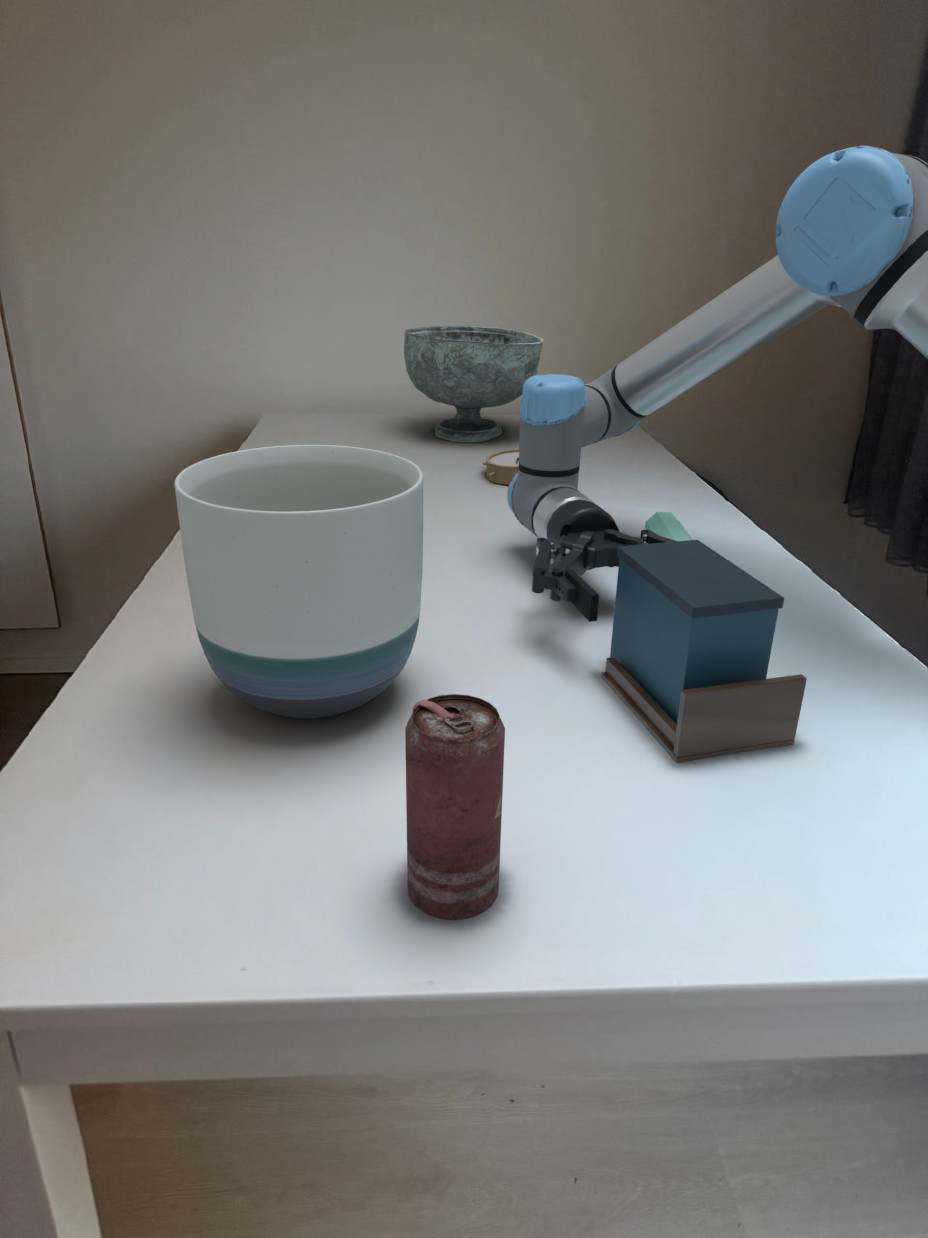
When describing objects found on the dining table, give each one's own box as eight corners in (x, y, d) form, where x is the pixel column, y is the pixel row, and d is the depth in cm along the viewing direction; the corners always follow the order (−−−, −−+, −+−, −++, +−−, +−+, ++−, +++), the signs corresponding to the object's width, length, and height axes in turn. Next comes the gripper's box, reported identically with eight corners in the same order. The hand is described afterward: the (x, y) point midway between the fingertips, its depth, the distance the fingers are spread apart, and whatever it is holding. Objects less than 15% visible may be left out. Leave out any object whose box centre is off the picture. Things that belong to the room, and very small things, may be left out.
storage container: (606, 659, 90) (617, 546, 85) (682, 650, 92) (697, 539, 87) (676, 735, 77) (693, 607, 72) (762, 722, 80) (784, 597, 74)
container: (650, 497, 123) (695, 561, 100) (688, 513, 124) (741, 580, 101) (630, 535, 125) (669, 606, 102) (668, 551, 126) (714, 625, 103)
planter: (177, 675, 88) (149, 459, 79) (370, 633, 97) (364, 435, 88) (239, 784, 72) (213, 528, 63) (462, 721, 81) (467, 490, 72)
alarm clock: (479, 452, 156) (564, 435, 156) (484, 479, 158) (568, 463, 158) (488, 469, 146) (579, 452, 146) (493, 498, 148) (582, 481, 148)
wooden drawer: (600, 681, 88) (606, 616, 85) (702, 667, 91) (712, 604, 88) (675, 768, 75) (685, 694, 72) (793, 749, 78) (807, 678, 75)
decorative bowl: (374, 428, 181) (376, 324, 172) (467, 413, 197) (473, 318, 189) (463, 460, 164) (470, 346, 155) (557, 441, 180) (568, 337, 172)
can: (430, 852, 65) (430, 680, 59) (512, 880, 62) (520, 703, 56) (387, 905, 60) (382, 724, 54) (474, 938, 57) (479, 751, 51)
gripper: (669, 551, 110) (767, 623, 91) (472, 569, 104) (535, 650, 85) (676, 491, 107) (780, 554, 88) (473, 506, 100) (539, 576, 82)
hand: (660, 601), depth 87 cm, fingers open, 13 cm apart
